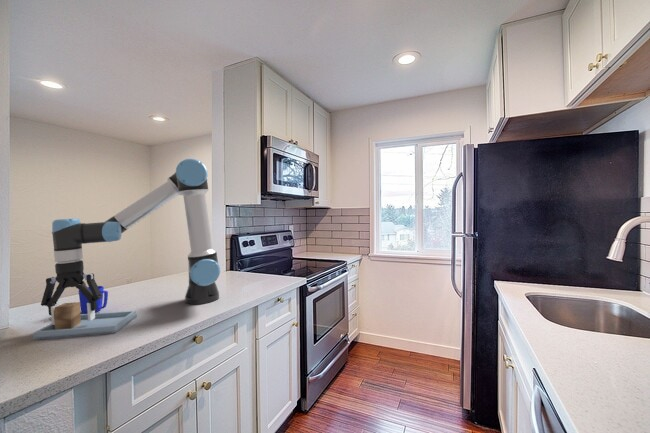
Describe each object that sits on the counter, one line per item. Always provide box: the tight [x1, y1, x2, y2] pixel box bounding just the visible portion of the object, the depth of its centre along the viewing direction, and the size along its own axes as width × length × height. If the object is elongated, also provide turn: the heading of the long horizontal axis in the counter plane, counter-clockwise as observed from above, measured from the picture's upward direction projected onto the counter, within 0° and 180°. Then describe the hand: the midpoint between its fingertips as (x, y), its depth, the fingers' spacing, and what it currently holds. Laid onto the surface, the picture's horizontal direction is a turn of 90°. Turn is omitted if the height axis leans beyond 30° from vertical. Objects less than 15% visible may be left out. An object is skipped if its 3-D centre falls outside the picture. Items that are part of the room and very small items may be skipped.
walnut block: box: [55, 301, 82, 330], centre depth 101 cm, size 5×5×8 cm
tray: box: [32, 310, 138, 341], centre depth 102 cm, size 24×16×2 cm, turn 101°
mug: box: [78, 285, 109, 314], centre depth 119 cm, size 8×12×10 cm
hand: (74, 321), depth 101 cm, fingers open, 10 cm apart
